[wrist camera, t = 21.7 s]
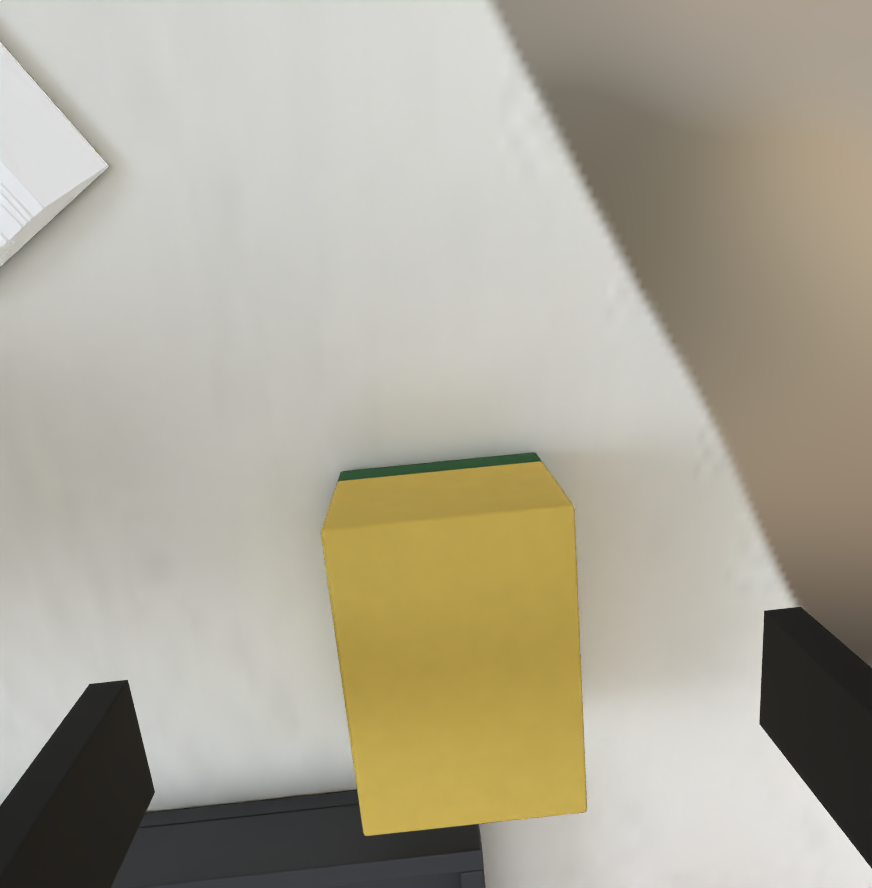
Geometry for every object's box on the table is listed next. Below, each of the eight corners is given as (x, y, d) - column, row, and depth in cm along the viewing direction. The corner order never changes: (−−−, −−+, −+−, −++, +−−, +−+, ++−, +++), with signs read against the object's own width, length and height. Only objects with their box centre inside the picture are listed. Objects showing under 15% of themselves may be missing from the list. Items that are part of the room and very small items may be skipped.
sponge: (339, 470, 19) (319, 530, 14) (536, 451, 19) (575, 504, 15) (372, 719, 21) (363, 838, 16) (550, 700, 21) (587, 813, 17)
